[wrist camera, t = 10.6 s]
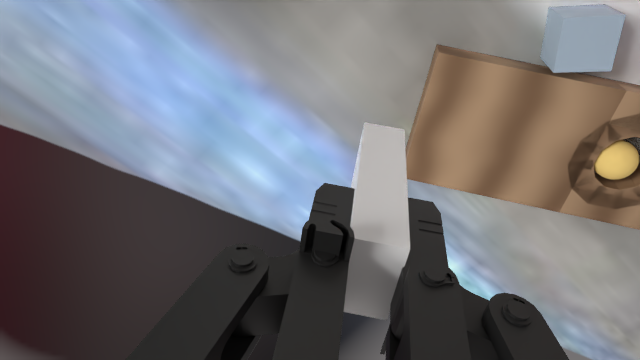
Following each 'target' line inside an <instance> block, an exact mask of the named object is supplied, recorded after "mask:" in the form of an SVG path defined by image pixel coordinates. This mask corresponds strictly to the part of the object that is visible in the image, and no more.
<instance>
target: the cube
mask: <svg viewBox="0 0 640 360" xmlns="http://www.w3.org/2000/svg"><path fill="white" fill-rule="evenodd" d="M625 16H626V15H625V14H623V13H621V12H619V11H617V10H615V9H613V8H611V7H609V6H607V5H605V4H603V5H583V6H562V7H549V10H548V16H547V21H546V27H545V33H544V39H543V45H542V50H541V56H540V58H541V59H542V60H543V62H544V63H545V64H546V65H547V66H548V67H549V68H550V69H551V71H552V72H553V73H561V72H602V71H611V70H612V67H613V63H614V59H615V55H616V51H617V47H618V43H619V40H620V36H621V32H622V28H623V24H624V20H625Z"/></svg>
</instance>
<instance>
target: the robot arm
mask: <svg viewBox="0 0 640 360" xmlns="http://www.w3.org/2000/svg"><path fill="white" fill-rule="evenodd" d="M390 311H391V312H390ZM344 312H348V313H353V314H358V315H363V316H368V317H373V318H378V319H383V320H387V318H388V315H389V312H390V315H391V316H390V325H389V328H388V331H387V334H386V337H385V340H384V343H383V346H382V349H381V353H380V354H385V351H386V360H569V359H568V357H567V355H566V354H565V352H564V351H563V349H562V347H561V346H560V344H559V342H558V341H557V339H556V337H555V336H554V334H553V333H552V331H551V329H550V328H549V326H548V324H547V323H546V321H545V320H544V318H543V316H542V315H541V313H540V312H539V311H538V310H537V309H536V307H535V306H534V305H532V304H531V303H530V302H528V301H527V300H526V299H524V298H521V297H519V296H517V295H514V294H508V293H501V294H496V295H495V296H493V297H492V298H491V299H490V301H489V300H487V299H484V298H482V297H480V296H478V295H475V294H473V293H471V292H469V291H468V290H466V289H464V288H463V287H462V286H460V285H459V282H458V279H457V277H456V275H455V274H454V273H453V271H452V270H451V269H450V268H448V261H447V254H446V247H445V240H444V235H443V227H442V220H441V213H440V212H439V210H438V209H437V207H436V206H435V205H434V203H433V202H429V201H424V200H419V199H413V198H408V191H407V170H406V150H405V130H404V129H399V128H393V127H388V126H382V125H377V124H371V123H366V122H364V127H363V132H362V136H361V141H360V146H359V151H358V155H357V160H356V165H355V170H354V175H353V179H352V185H351V188H349V187H343V186H338V185H332V184H327V183H324V184H323V185H322V186H321V187H320V188H319V189H318V190H317V191H316V193H315V197H314V202H313V205H312V210H311V213H310V217H309V221H307V222H306V223H305V225H304V227H303V229H302V236H301V243H300V248H299V249H298V250H297V251H295V252H294V253H292V254H289V255H286V256H280V257H268V256H267V255H266V254H265V252H264V251H263V250H261V249H260V248H258V247H256V246H253V245H249V244H235V245H232V246H229V247H226V248H225V249H224V250H222V251H221V252H220V253H219V254H218V255H217V256H216V257H215V258H214V260H213V261H212V262H211V263H210V264H209V265H208V266H207V268H206V269H205V270H204V271H203V272H202V273H201V274H200V275H199V277H198V278H197V279H196V280H195V281H194V282H193V283H192V285H191V286H190V287H189V288H188V289H187V290H186V291H185V293H184V294H183V295H182V296H181V297H180V298H179V299H178V301H177V302H176V303H175V304H174V305H173V306H172V307H171V309H170V310H169V311H168V312H167V313H166V314H165V315H164V317H163V318H162V319H161V320H160V321H159V322H158V323H157V325H156V326H155V327H154V328H153V329H152V330H151V331H150V332H149V334H148V335H147V336H146V337H145V338H144V339H143V340H142V342H141V343H140V344H139V345H138V346H137V347H136V348H135V350H134V351H133V352H132V353H131V354H130V355H129V356H128V358H127V359H126V360H247V359H248V357H249V356H250V354H251V353H252V351H253V349H254V348H255V346H256V344H257V343H258V341H259V340H260V337H261V335H267V334H277V333H279V335H278V339H277V343H276V347H275V351H274V355H273V359H272V360H338V357H339V348H340V339H341V329H342V322H343V313H344Z"/></svg>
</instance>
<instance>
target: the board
mask: <svg viewBox="0 0 640 360" xmlns="http://www.w3.org/2000/svg"><path fill="white" fill-rule="evenodd" d="M631 137H638V138H640V85H635V84H630V83H625V82H620V81H615V80H610V79H605V78H600V77H595V76H590V75H585V74H580V73H575V72H561V73H553V72H552V71H551V69H550V68H549V67H546V66H541V65H536V64H531V63H526V62H521V61H516V60H511V59H506V58H501V57H496V56H491V55H486V54H482V53H477V52H472V51H467V50H462V49H457V48H452V47H447V46H442V45H437V46H436V49H435V52H434V56H433V59H432V62H431V66H430V69H429V73H428V76H427V79H426V83H425V86H424V89H423V93H422V96H421V99H420V103H419V106H418V110H417V113H416V116H415V120H414V123H413V126H412V130H411V133H410V136H409V140H408V143H407V147H406V170H407V179H410V180H414V181H419V182H423V183H428V184H433V185H437V186H442V187H446V188H451V189H456V190H460V191H465V192H469V193H474V194H479V195H483V196H488V197H492V198H497V199H501V200H506V201H511V202H515V203H520V204H524V205H529V206H534V207H538V208H543V209H547V210H552V211H556V212H561V213H566V214H570V215H575V216H579V217H584V218H589V219H593V220H598V221H602V222H607V223H612V224H616V225H621V226H625V227H630V228H634V229H639V230H640V163H639V164H638V166H637V168H636V170H635V171H634V172H633V173H632V174H631V175H629V176H627V177H625V178H622V179H615V180H613V179H607V178H604V177H602V176H600V175H599V174H597V173H594V163H595V161H596V159H597V158H598V156H599V154H600V152H601V151H602V150H604V149H605V148H607V147H608V146H609V145H611V144H612V143H614V142H615V141H618V140H622V139H627V138H631Z"/></svg>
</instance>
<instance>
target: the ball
mask: <svg viewBox="0 0 640 360" xmlns="http://www.w3.org/2000/svg"><path fill="white" fill-rule="evenodd" d="M638 164H639V154H638V151H637V150H636V148H635V147H634V146H633V145H632V144H630V143H629V142H627V141H624V140H618V141H615V142H614V143H612V144H611V145H609V146H608V147H607V148H605V149H604V150H602V151H601V152H600V154H599V156H598V158H597V159H596V161H595V163H594V170H595V172H596V173H597V174H599V175H600V176H602V177H604V178H607V179H613V180H615V179H622V178H625V177H627V176H629V175H631V174H632V173H633V172H634V171H635V170H636V168H637V166H638Z"/></svg>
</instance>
